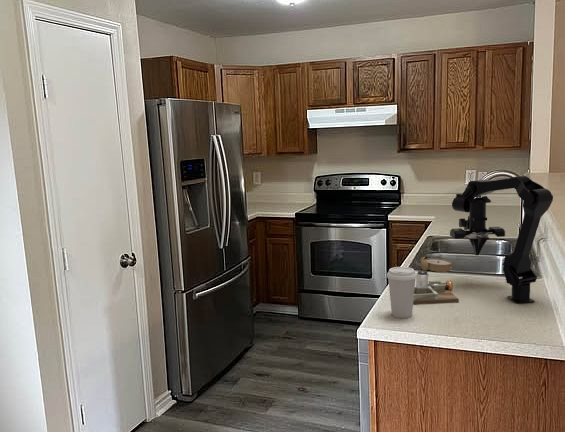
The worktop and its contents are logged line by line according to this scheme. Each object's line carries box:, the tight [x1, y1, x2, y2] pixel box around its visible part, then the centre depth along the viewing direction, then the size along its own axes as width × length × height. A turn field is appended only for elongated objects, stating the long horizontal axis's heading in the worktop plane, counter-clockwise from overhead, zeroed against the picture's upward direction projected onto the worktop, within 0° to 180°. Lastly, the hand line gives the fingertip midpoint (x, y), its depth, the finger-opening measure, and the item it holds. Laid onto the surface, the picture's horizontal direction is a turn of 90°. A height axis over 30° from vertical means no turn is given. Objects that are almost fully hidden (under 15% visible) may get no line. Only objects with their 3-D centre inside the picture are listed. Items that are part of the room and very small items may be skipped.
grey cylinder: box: [415, 269, 429, 294], centre depth 179 cm, size 4×4×9 cm
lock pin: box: [428, 280, 454, 293], centre depth 186 cm, size 4×9×4 cm, turn 91°
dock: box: [413, 280, 460, 306], centre depth 182 cm, size 14×16×4 cm
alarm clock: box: [415, 256, 453, 273], centre depth 219 cm, size 11×5×15 cm
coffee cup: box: [386, 266, 417, 319], centre depth 165 cm, size 10×10×15 cm
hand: (476, 255), depth 191 cm, fingers closed
